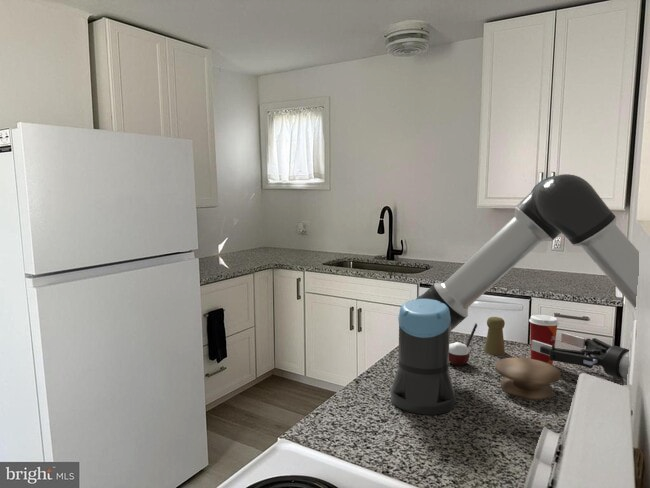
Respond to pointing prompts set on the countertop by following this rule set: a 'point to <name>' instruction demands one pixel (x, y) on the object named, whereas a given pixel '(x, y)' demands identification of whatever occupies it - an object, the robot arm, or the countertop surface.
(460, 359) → the cocoa
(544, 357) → the paper cup
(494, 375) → the countertop surface
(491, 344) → the cork
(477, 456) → the countertop surface
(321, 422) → the countertop surface
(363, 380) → the countertop surface
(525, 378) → the pedestal stand
